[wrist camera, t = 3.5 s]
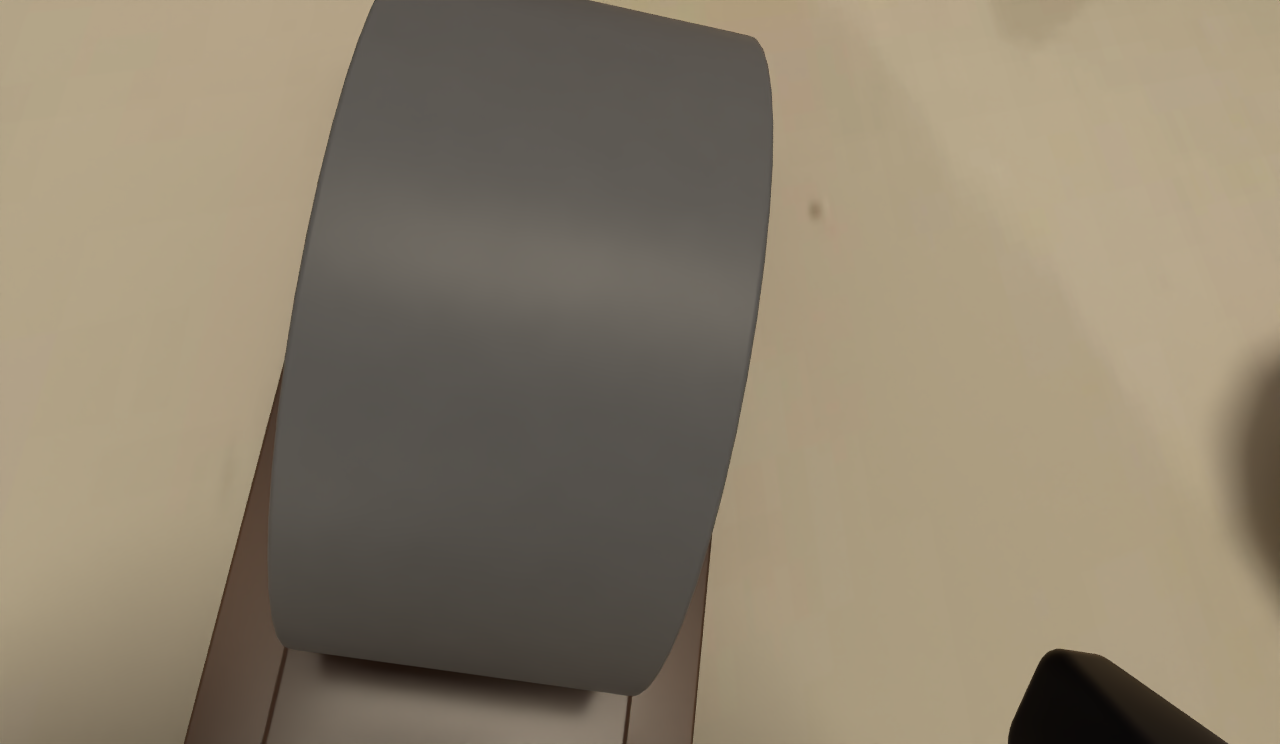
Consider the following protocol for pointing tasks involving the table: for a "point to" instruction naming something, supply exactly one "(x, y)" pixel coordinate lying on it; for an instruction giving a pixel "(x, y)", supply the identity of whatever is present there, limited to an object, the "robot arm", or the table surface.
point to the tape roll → (520, 340)
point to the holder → (405, 678)
